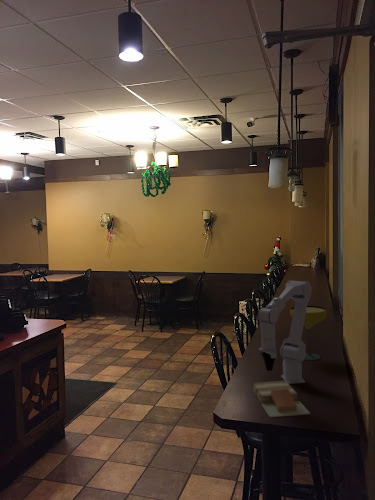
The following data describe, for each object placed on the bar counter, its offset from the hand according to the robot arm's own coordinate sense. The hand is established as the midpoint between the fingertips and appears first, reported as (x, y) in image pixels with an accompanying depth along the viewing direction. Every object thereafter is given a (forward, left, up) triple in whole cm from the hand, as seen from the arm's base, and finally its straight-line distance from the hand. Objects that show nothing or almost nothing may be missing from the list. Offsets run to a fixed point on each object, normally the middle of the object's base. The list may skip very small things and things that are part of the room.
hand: (269, 370), depth 170 cm
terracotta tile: (+14, +1, -8) cm, 16 cm away
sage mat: (+16, +1, -9) cm, 19 cm away
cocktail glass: (-40, +33, -10) cm, 53 cm away
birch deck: (+3, +1, -9) cm, 10 cm away
